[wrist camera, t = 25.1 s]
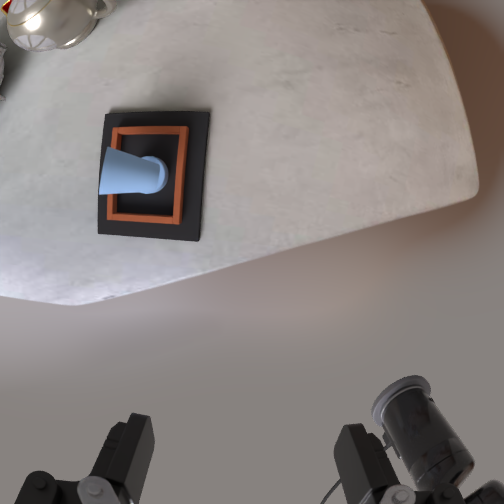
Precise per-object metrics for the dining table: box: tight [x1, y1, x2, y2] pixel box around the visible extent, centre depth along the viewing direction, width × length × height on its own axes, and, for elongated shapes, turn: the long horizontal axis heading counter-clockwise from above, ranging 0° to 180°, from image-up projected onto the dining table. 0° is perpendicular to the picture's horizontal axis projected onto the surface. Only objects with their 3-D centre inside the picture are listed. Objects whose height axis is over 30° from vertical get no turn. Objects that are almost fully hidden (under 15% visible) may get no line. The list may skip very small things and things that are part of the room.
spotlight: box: [99, 147, 169, 195], centre depth 29 cm, size 5×10×7 cm
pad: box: [98, 111, 210, 242], centre depth 34 cm, size 16×14×2 cm
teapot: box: [1, 0, 117, 52], centre depth 21 cm, size 18×14×16 cm
